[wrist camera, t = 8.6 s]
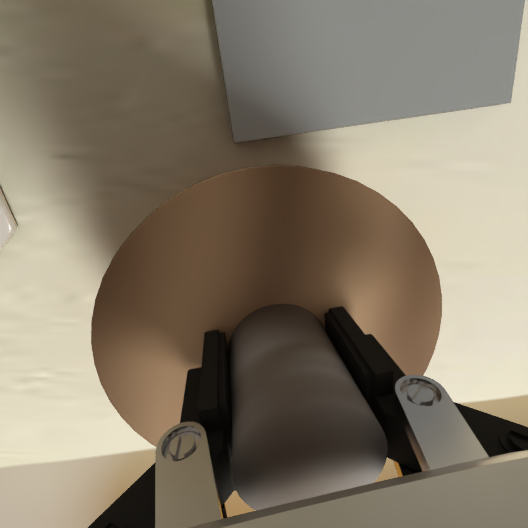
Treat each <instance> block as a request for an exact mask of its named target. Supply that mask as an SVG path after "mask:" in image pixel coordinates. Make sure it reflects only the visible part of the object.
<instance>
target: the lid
mask: <svg viewBox="0 0 528 528" xmlns="http://www.w3.org/2000/svg"><path fill="white" fill-rule="evenodd" d="M340 306H343V307H344V308H345V309H346V311H347V312H348V313H349V314H350V316H351V317H352V318H353V320H354V321H355V322H356V323H357V325H358V326H359V327H360V329H361V330H362V331H363V332H364V334H365V335H366V334H372V335H373V336H374V337H375V338H376V340H377V341H378V342H379V343H380V344H381V346H382V347H383V348H384V349H385V350H386V352H387V353H388V354H389V355H390V357H391V358H392V359H393V360H394V361H395V363H396V364H397V365H398V366H399V368H400V369H401V370H402V371H403V372H404V374H405V375H406V376H407V375H421V376H423V374H424V373H425V371H426V369H427V367H428V364H429V362H430V360H431V357H432V355H433V353H434V350H435V346H436V343H437V339H438V336H439V330H440V323H441V316H442V295H441V288H440V281H439V275H438V272H437V269H436V266H435V262H434V259H433V257H432V255H431V253H430V250H429V248H428V246H427V244H426V242H425V240H424V239H423V237H422V236H421V234H420V233H419V231H418V230H417V229H416V227H415V226H414V224H413V223H412V222H411V221H410V220H409V219H408V218H407V217H406V216H405V215H404V214H403V212H402V211H401V210H400V209H399V208H398V207H397V206H395V205H394V204H393V203H391V202H390V201H389V200H387V199H386V198H385V197H383V196H382V195H381V194H379V193H378V192H376V191H374V190H372V189H370V188H369V187H367V186H365V185H363V184H361V183H359V182H357V181H355V180H352V179H349V178H346V177H343V176H341V175H338V174H335V173H331V172H327V171H322V170H317V169H312V168H306V167H301V166H287V165H267V166H255V167H247V168H242V169H238V170H234V171H229V172H225V173H222V174H219V175H216V176H214V177H211V178H208V179H206V180H203V181H200V182H198V183H196V184H194V185H193V186H191V187H189V188H187V189H185V190H183V191H182V192H180V193H178V194H176V195H175V196H173V197H172V198H171V199H169V200H168V201H167V202H165V203H164V204H163V205H161V206H160V207H159V208H157V209H156V210H155V211H154V212H153V213H151V214H150V215H149V216H148V217H147V218H146V219H145V220H144V221H143V222H142V223H141V224H140V225H139V226H138V227H137V228H136V229H135V230H134V231H133V232H132V233H131V234H130V235H129V237H128V238H127V240H126V241H125V242H124V244H123V245H122V246H121V248H120V249H119V250H118V252H117V253H116V254H115V256H114V258H113V260H112V261H111V263H110V265H109V267H108V269H107V271H106V273H105V275H104V276H103V279H102V282H101V285H100V288H99V291H98V294H97V296H96V299H95V305H94V311H93V317H92V332H91V344H92V351H93V357H94V363H95V367H96V370H97V373H98V376H99V379H100V382H101V385H102V387H103V389H104V390H105V392H106V394H107V396H108V398H109V400H110V402H111V403H112V405H113V406H114V407H115V409H116V410H117V412H118V413H119V414H120V416H121V417H122V418H123V419H124V420H125V421H126V422H127V423H128V424H129V425H130V427H131V428H132V429H133V430H134V431H135V432H137V433H138V434H139V435H140V436H142V437H143V438H144V439H146V440H147V441H148V442H149V443H151V444H152V445H154V446H156V447H157V444H158V442H159V440H160V438H161V437H162V436H163V434H164V433H165V432H166V431H167V430H169V429H170V428H171V427H173V426H175V425H177V424H179V423H180V419H181V412H182V405H183V398H184V392H185V385H186V378H187V372H188V370H189V369H194V368H199V367H201V366H202V354H203V343H204V333H205V332H208V331H213V330H219V332H220V333H222V332H224V333H225V336H226V341H227V346H228V350H229V376H230V402H231V427H232V466H233V481H234V485H235V488H236V491H237V492H238V494H239V496H240V497H241V499H242V500H243V501H244V502H245V503H246V504H247V505H249V506H250V507H251V508H253V509H254V510H256V511H257V510H261V509H265V508H270V507H274V506H278V505H282V504H286V503H290V502H295V501H299V500H303V499H307V498H312V497H316V496H320V495H324V494H329V493H333V492H337V491H341V490H346V489H350V488H354V487H358V486H363V485H367V484H371V483H374V482H375V481H376V479H377V478H378V476H379V475H380V473H381V471H382V469H383V467H384V465H385V462H386V458H387V451H388V446H387V440H386V436H385V433H384V431H383V429H382V427H381V426H380V424H379V422H378V421H377V419H376V417H375V415H374V414H373V412H372V410H371V408H370V407H369V405H368V403H367V402H366V400H365V398H364V396H363V395H362V393H361V391H360V389H359V388H358V386H357V384H356V383H355V381H354V379H353V377H352V376H351V374H350V372H349V370H348V369H347V367H346V365H345V364H344V362H343V360H342V358H341V357H340V355H339V353H338V351H337V350H336V348H335V346H334V345H333V343H332V341H331V339H330V338H329V336H328V334H327V332H326V331H325V318H324V314H325V313H327V312H328V310H329V308H335V307H340Z"/></svg>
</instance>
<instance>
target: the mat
mask: <svg viewBox="0 0 528 528" xmlns="http://www.w3.org/2000/svg"><path fill="white" fill-rule="evenodd" d="M211 1H212V8H213V14H214V20H215V26H216V33H217V39H218V45H219V52H220V58H221V64H222V70H223V77H224V83H225V89H226V96H227V102H228V108H229V114H230V121H231V127H232V133H233V140H234V143H237V142H244V141H251V140H258V139H265V138H272V137H279V136H286V135H292V134H299V133H306V132H313V131H320V130H327V129H334V128H341V127H348V126H355V125H362V124H369V123H376V122H382V121H389V120H396V119H403V118H410V117H417V116H424V115H431V114H438V113H445V112H452V111H459V110H465V109H472V108H479V107H486V106H493V105H500V104H506V103H511V98H512V90H513V83H514V76H515V68H516V61H517V54H518V46H519V39H520V31H521V24H522V17H523V9H524V2H525V0H211Z"/></svg>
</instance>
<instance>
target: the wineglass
mask: <svg viewBox="0 0 528 528" xmlns="http://www.w3.org/2000/svg"><path fill="white" fill-rule="evenodd" d="M17 228H18V227H17V224H16V222H15V220H14V218H13V215H12V213H11V211H10V209H9V207H8V204H7V202H6V200H5V198H4V195H3V193H2V191H1V189H0V250H1V249H2V247H3V246H4V245H5V244H6V242H7V241H8V240H9V238H10V237H11V236H12V234H13V233H14V232H15V231H16V229H17Z"/></svg>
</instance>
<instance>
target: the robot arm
mask: <svg viewBox="0 0 528 528" xmlns="http://www.w3.org/2000/svg"><path fill="white" fill-rule="evenodd" d="M324 318H325V331H326V332H327V334H328V336H329V338H330V339H331V341H332V343H333V345H334V346H335V348H336V350H337V351H338V353H339V355H340V357H341V358H342V360H343V362H344V364H345V365H346V367H347V369H348V370H349V372H350V374H351V376H352V377H353V379H354V381H355V383H356V384H357V386H358V388H359V389H360V391H361V393H362V395H363V396H364V398H365V400H366V402H367V403H368V405H369V407H370V408H371V410H372V412H373V414H374V415H375V417H376V419H377V421H378V422H379V424H380V426H381V427H382V429H383V431H384V433H385V436H386V440H387V446H388V451H387V457H388V458H390V459H392V460H393V461H394V466H395V469H396V472H397V475H398V477H397V478H393V479H389V480H384V481H380V482H376V483H371V484H367V485H363V486H358V487H354V488H350V489H346V490H341V491H337V492H333V493H329V494H324V495H320V496H316V497H312V498H307V499H303V500H299V501H295V502H290V503H286V504H282V505H278V506H274V507H270V508H265V509H261V510H257V511H253V512H249V513H245V514H241V515H236V516H232V517H228V514H227V509H226V504H225V502H226V500H227V499H228V497H229V496H230V495H231V494H232V492H233V491H235V490H236V488H235V485H234V481H233V466H232V427H231V402H230V376H229V350H228V346H227V341H226V336H225V333H224V332H222V333H220V332H219V330H213V331H208V332H205V333H204V343H203V354H202V366H201V367H199V368H194V369H189V370H188V372H187V378H186V385H185V392H184V398H183V405H182V412H181V419H180V423H179V424H177V425H175V426H173V427H171V428H170V429H169V430H167V431H166V432H165V433H164V434H163V436H162V437H161V438H160V440H159V442H158V444H157V447H156V462H155V463H154V464H153V465H152V466H151V467H150V468H149V469H148V470H147V471H146V472H145V473H144V474H143V475H142V476H141V477H140V478H139V479H138V480H137V481H136V482H135V483H134V484H132V485H131V486H130V488H128V489H127V490H126V491H125V492H124V493H123V494H122V495H121V496H120V497H119V498H118V499H117V500H116V501H115V502H114V503H113V504H112V505H111V506H110V507H109V508H108V509H106V511H104V512H103V514H101V515H100V516H99V517H98V518H97V519H96V520H95V521H94V522H93V523H92V524H91V525H90V526H89V527H88V528H528V427H526V426H523V425H520V424H517V423H514V422H510V421H508V420H504V419H502V418H499V417H496V416H493V415H490V414H487V413H484V412H481V411H478V410H475V409H472V408H469V407H467V406H463V405H461V404H458V403H455V402H453V401H452V399H451V398H450V396H449V395H448V393H447V392H446V390H445V389H444V388H443V387H442V386H441V385H440V384H439V383H438V382H436V381H435V380H433V379H431V378H428V377H425V376H421V375H407V376H406V375H405V374H404V372H403V371H402V370H401V369H400V368H399V366H398V365H397V364H396V363H395V361H394V360H393V359H392V358H391V357H390V355H389V354H388V353H387V352H386V350H385V349H384V348H383V347H382V346H381V344H380V343H379V342H378V341H377V340H376V338H375V337H374V336H373V335H372V334H366V335H365V334H364V332H363V331H362V330H361V329H360V327H359V326H358V325H357V323H356V322H355V321H354V320H353V318H352V317H351V316H350V314H349V313H348V312H347V311H346V309H345V308H344V307H343V306H340V307H335V308H329V310H328V312H327V313H325V314H324Z"/></svg>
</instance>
